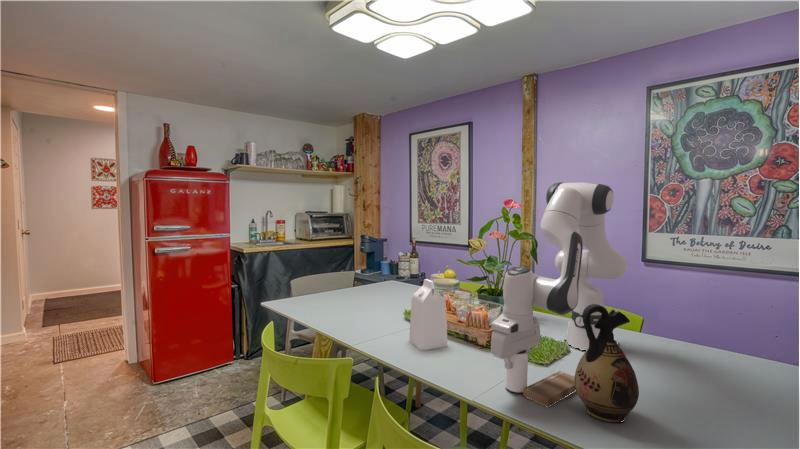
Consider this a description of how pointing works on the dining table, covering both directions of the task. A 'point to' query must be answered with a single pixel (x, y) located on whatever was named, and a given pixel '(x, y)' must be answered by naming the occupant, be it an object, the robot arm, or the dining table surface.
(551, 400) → the plank
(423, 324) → the milk
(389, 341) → the dining table surface
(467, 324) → the ammunition clip
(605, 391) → the ceramic jug
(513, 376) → the can
